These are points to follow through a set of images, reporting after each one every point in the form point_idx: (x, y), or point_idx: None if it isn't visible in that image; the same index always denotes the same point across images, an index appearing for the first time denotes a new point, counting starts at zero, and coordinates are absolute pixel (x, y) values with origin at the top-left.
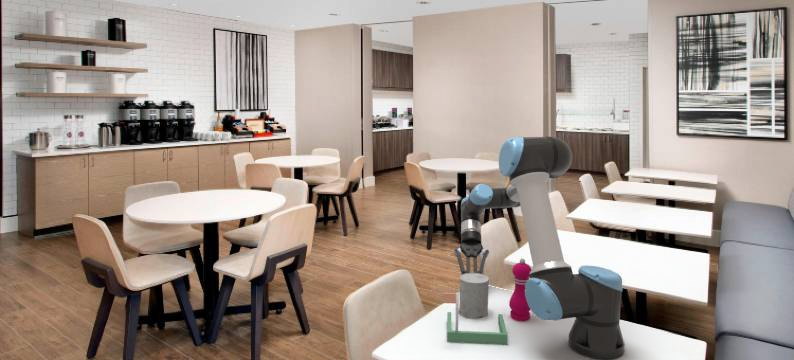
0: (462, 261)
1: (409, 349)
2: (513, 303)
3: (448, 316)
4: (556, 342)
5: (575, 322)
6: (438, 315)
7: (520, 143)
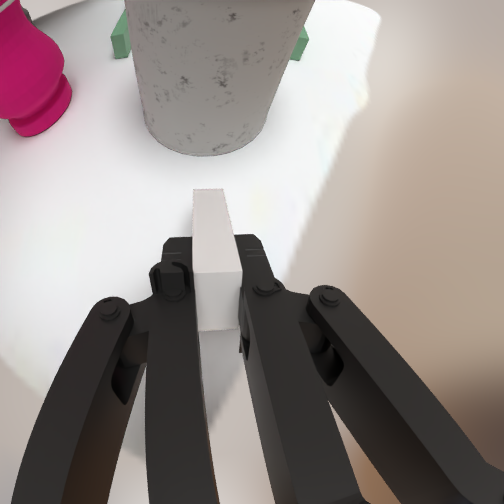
0: (394, 404)
1: (341, 3)
2: (54, 42)
3: None
4: None
5: None
6: (334, 92)
7: None
